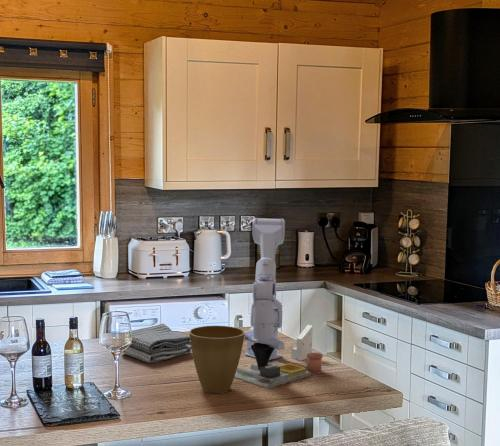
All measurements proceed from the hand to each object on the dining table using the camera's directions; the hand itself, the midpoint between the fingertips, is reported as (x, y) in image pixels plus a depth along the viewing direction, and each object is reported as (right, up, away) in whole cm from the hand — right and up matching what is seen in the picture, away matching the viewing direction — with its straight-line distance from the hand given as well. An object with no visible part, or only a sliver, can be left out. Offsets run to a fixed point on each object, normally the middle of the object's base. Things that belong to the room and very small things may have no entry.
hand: (262, 369), depth 214 cm
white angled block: (+13, -1, +23) cm, 26 cm away
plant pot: (-13, -4, -10) cm, 16 cm away
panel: (+3, -3, +3) cm, 5 cm away
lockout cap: (+16, -2, +9) cm, 18 cm away
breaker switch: (+2, -2, -2) cm, 3 cm away
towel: (-33, 0, +23) cm, 40 cm away
